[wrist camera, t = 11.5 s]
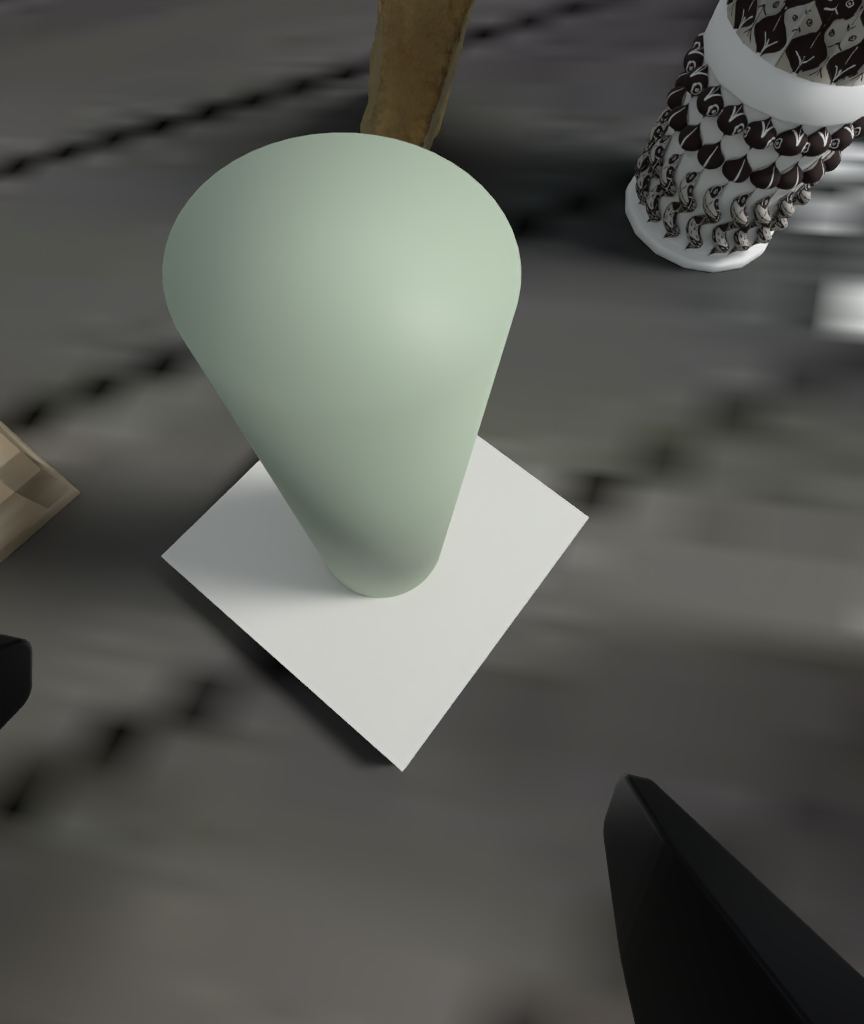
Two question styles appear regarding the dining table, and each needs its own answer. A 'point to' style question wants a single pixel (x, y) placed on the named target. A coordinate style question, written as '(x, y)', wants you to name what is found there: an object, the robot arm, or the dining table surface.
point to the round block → (350, 334)
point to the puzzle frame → (26, 492)
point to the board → (381, 621)
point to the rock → (413, 67)
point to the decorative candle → (749, 129)
